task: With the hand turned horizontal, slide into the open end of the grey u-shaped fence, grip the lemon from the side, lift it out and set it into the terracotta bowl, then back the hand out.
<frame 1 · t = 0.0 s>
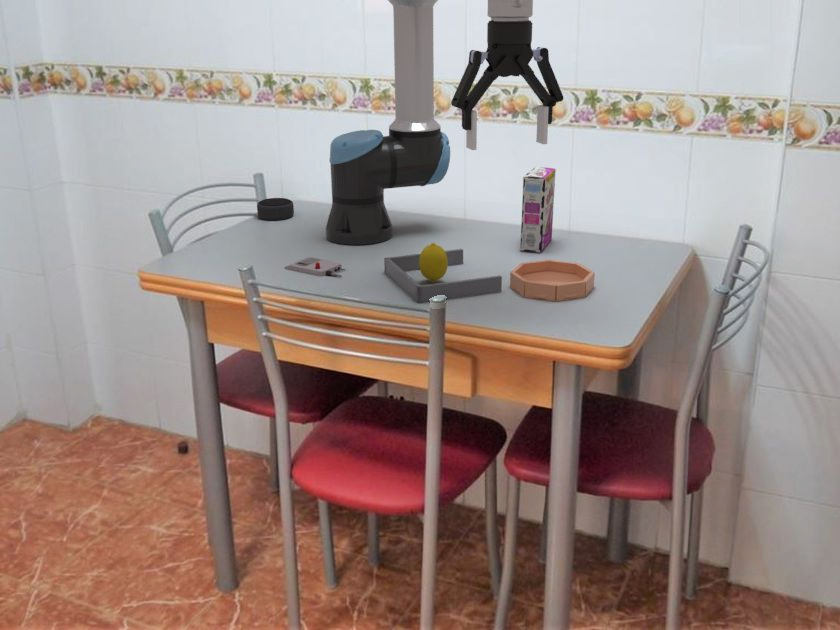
hand: (506, 146, 163), 28 cm above the table, tool pointing down, fingers open, 13 cm apart
lemon: (433, 283, 181), on the table
smart speaker: (276, 218, 230), on the table
grey u-shaped fence: (443, 281, 181), on the table
bowl: (551, 287, 177), on the table
moisture meter: (317, 272, 190), on the table
candy bar box: (536, 246, 204), on the table
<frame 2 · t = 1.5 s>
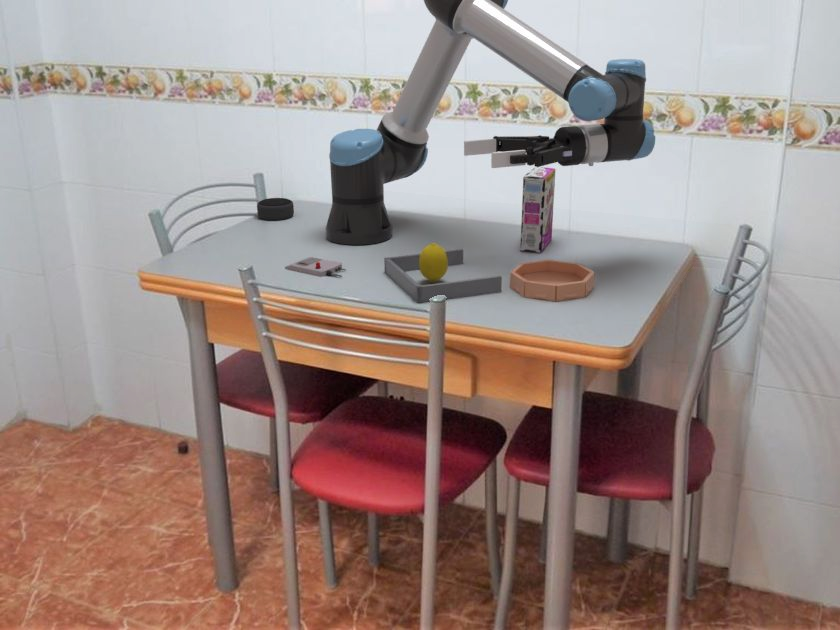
hand: (477, 154, 175), 24 cm above the table, tool horizontal, fingers open, 13 cm apart
nothing on the table moved.
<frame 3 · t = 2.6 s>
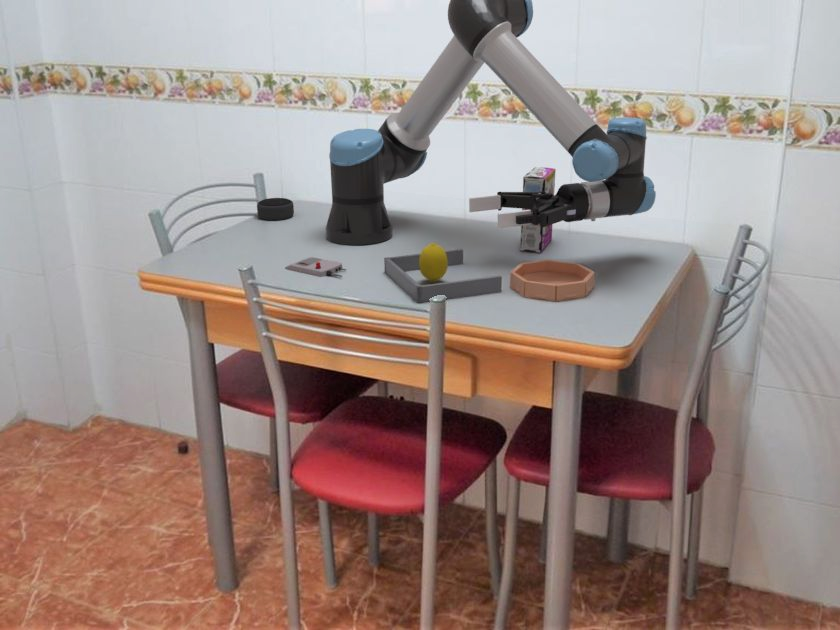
hand: (483, 212, 179), 13 cm above the table, tool horizontal, fingers open, 13 cm apart
nothing on the table moved.
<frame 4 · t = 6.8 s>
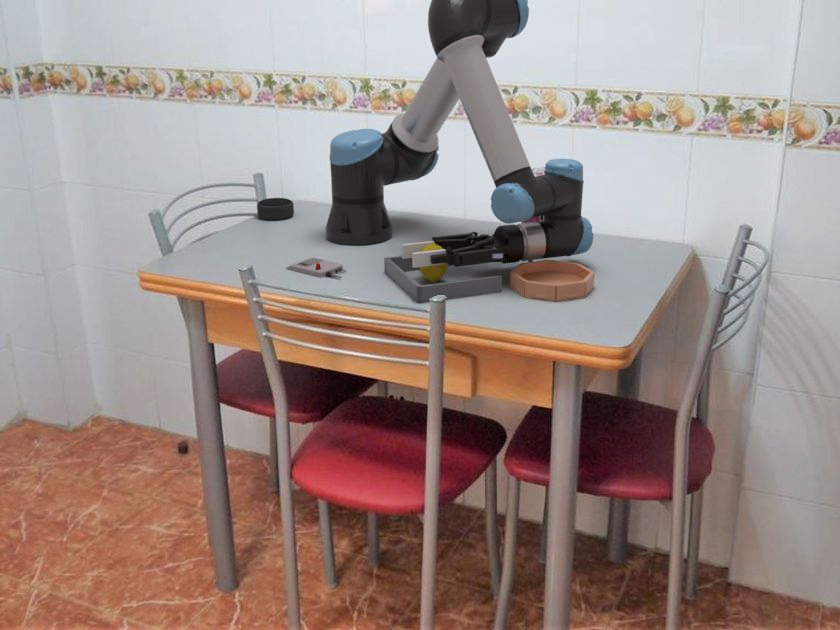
hand: (407, 255, 177), 6 cm above the table, tool horizontal, fingers closed on lemon, 5 cm apart
lemon: (433, 283, 181), on the table, touching gripper
everything else where it was.
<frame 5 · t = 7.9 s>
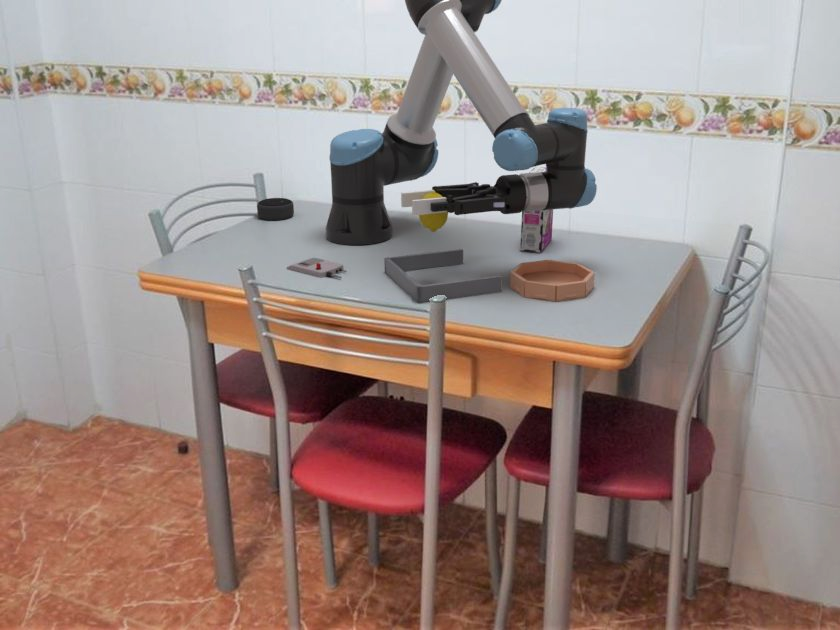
hand: (407, 203, 173), 16 cm above the table, tool horizontal, fingers closed on lemon, 5 cm apart
lemon: (433, 233, 177), point 10 cm above the table, touching gripper
everything else where it was.
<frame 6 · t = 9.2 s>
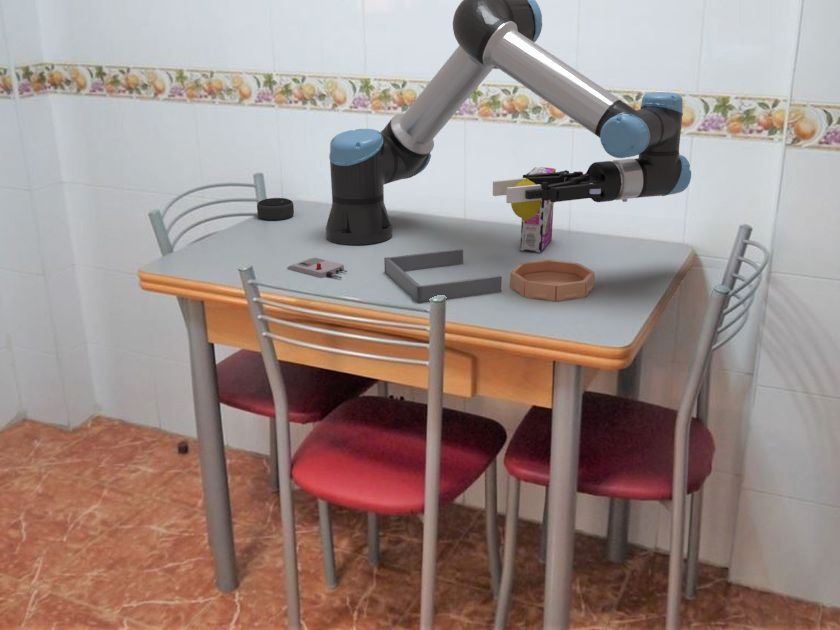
hand: (500, 191, 169), 19 cm above the table, tool horizontal, fingers closed on lemon, 5 cm apart
lemon: (525, 222, 172), point 13 cm above the table, touching gripper
everything else where it was.
when the fingers open (8 cm above the table, at t = 11.8 s): lemon stays where it is, resting on bowl.
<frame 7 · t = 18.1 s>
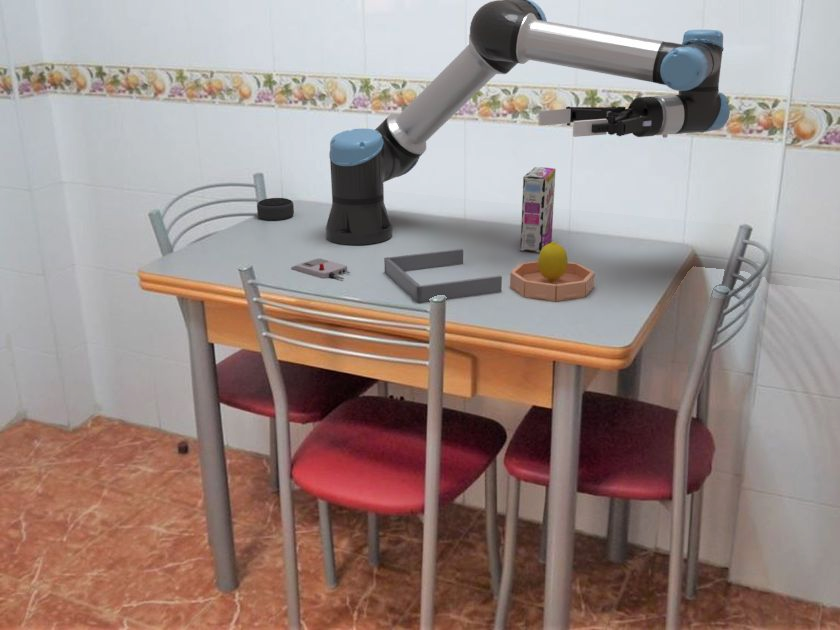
hand: (556, 123, 173), 30 cm above the table, tool horizontal, fingers open, 13 cm apart
lemon: (551, 282, 177), point 1 cm above the table, touching bowl
at the end: lemon inside the target area on the bowl (0.1 cm from its centre), point 0.8 cm above the bowl's base; the gripper is holding nothing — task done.
